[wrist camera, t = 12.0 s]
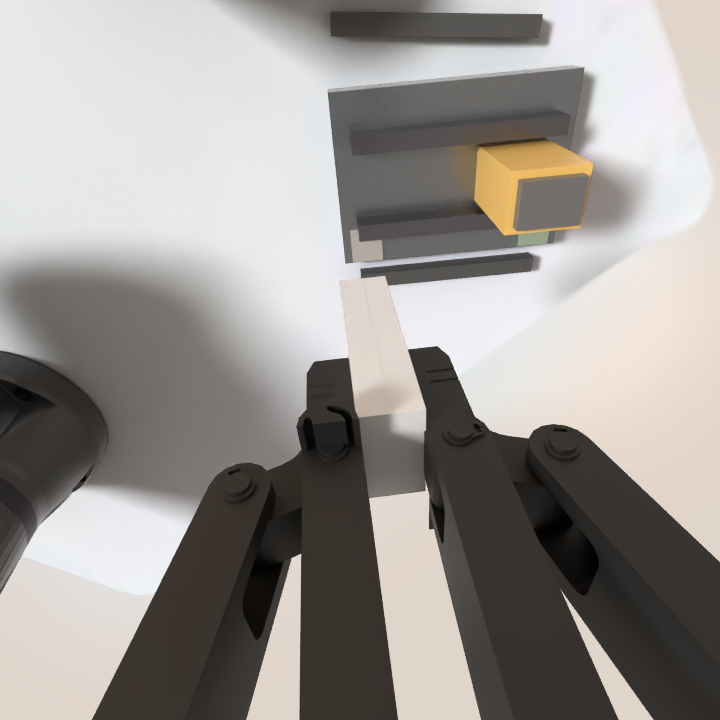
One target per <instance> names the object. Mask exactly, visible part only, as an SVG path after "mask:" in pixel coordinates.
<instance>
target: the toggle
mask: <svg viewBox="0 0 720 720" xmlns="http://www.w3.org/2000/svg"><path fill="white" fill-rule="evenodd" d="M593 165H594V163H592V162H590V161H588V160H586V159H585V158H583V157H581V156H579V155H577V154H575V153H573V152H571V151H569V150H567V149H565V148H563V147H561V146H559V145H558V144H556V143H554V142H552V141H550V140H548V139H546V138H545V139H535V140H524V141H514V142H504V143H494V144H484V145H478V152H477V167H476V182H475V197H474V200H475V202H476V203H477V204H478V205H479V206H480V207H481V209H482V210H483V211H484V212H485V213H486V215H487V216H488V217H489V218H490V219H491V220H492V222H493V223H494V224H495V225H496V226H497V228H498V229H499V230H500V231H501V232H502V233H503V235H513V234H523V233H534V232H544V231H554V230H564V229H574V228H580V227H581V222H582V217H583V212H584V208H585V203H586V198H587V193H588V189H589V184H590V179H591V174H592V170H593Z"/></svg>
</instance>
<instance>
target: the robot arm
mask: <svg viewBox="0 0 720 720" xmlns="http://www.w3.org/2000/svg"><path fill="white" fill-rule="evenodd" d="M340 288H341V296H342V305H343V314H344V323H345V331H346V340H347V349H348V357H349V358H342V359H333V360H325V361H316V362H314V363H313V364H312V366H311V368H310V369H309V371H308V373H307V410H306V411H305V412H304V413H303V414H302V415H301V416H300V417H299V420H298V423H297V431H298V435H299V440H300V445H301V449H302V450H301V451H300V452H299V454H298V455H297V456H296V457H294V458H293V459H292V460H290V461H289V462H287V463H285V464H283V465H280V466H278V467H275V468H273V469H270V470H268V471H267V470H265V469H264V468H263V467H262V466H260V465H256V464H252V463H243V464H237V465H234V466H232V467H229V468H226V469H225V470H224V471H222V472H221V473H220V474H218V475H217V476H216V477H215V478H214V480H213V481H212V482H211V484H210V485H209V487H208V489H207V491H206V493H205V495H204V497H203V499H202V501H201V503H200V505H199V507H198V509H197V511H196V513H195V515H194V517H193V519H192V521H191V523H190V525H189V527H188V529H187V531H186V533H185V535H184V537H183V539H182V541H181V543H180V545H179V547H178V549H177V551H176V553H175V555H174V557H173V559H172V561H171V563H170V565H169V567H168V569H167V571H166V573H165V575H164V577H163V579H162V581H161V583H160V585H159V587H158V589H157V591H156V593H155V595H154V597H153V599H152V601H151V603H150V605H149V607H148V609H147V611H146V613H145V615H144V617H143V619H142V621H141V623H140V625H139V627H138V629H137V631H136V633H135V635H134V637H133V639H132V641H131V643H130V645H129V647H128V649H127V651H126V653H125V655H124V657H123V659H122V661H121V663H120V665H119V667H118V669H117V671H116V673H115V675H114V677H113V679H112V681H111V683H110V685H109V687H108V689H107V691H106V693H105V695H104V697H103V699H102V701H101V703H100V705H99V707H98V709H97V711H96V713H95V715H94V717H93V719H92V720H246V718H247V715H248V711H249V707H250V704H251V701H252V697H253V694H254V690H255V686H256V683H257V679H258V676H259V672H260V669H261V665H262V661H263V658H264V655H265V651H266V647H267V644H268V640H269V637H270V633H271V630H272V626H273V623H274V619H275V615H276V612H277V608H278V605H279V601H280V598H281V594H282V590H283V587H284V583H285V580H286V577H287V573H288V569H289V566H290V562H291V558H292V557H295V556H297V555H299V554H301V633H300V634H301V635H300V637H301V638H300V639H301V640H300V720H398V716H397V708H396V701H395V693H394V686H393V678H392V670H391V663H390V656H389V648H388V640H387V633H386V625H385V618H384V610H383V602H382V594H381V587H380V580H379V571H378V564H377V557H376V549H375V542H374V533H373V526H372V518H371V511H370V503H369V498H373V497H381V496H389V495H397V494H404V493H413V492H420V491H425V480H426V484H427V488H428V491H429V495H430V497H429V529H434V530H435V535H436V538H437V542H438V546H439V550H440V555H441V558H442V563H443V567H444V571H445V575H446V579H447V583H448V587H449V591H450V595H451V599H452V603H453V607H454V611H455V615H456V620H457V624H458V627H459V632H460V636H461V640H462V644H463V648H464V652H465V656H466V660H467V664H468V668H469V672H470V676H471V680H472V684H473V689H474V692H475V697H476V700H477V705H478V709H479V713H480V717H481V720H618V718H617V715H616V713H615V711H614V709H613V706H612V704H611V702H610V700H609V697H608V695H607V693H606V691H605V688H604V686H603V684H602V682H601V679H600V677H599V675H598V673H597V671H596V668H595V666H594V664H593V661H592V659H591V657H590V655H589V652H588V650H587V648H586V646H585V643H584V641H583V639H582V637H581V634H580V632H579V630H578V628H577V625H576V623H575V621H574V619H573V616H572V614H571V612H570V610H569V607H568V606H567V603H566V601H565V599H564V596H563V594H562V592H563V593H564V595H565V596H566V597H567V599H568V600H569V602H570V603H571V604H572V606H573V607H574V609H575V610H576V611H577V613H578V614H579V616H580V617H581V618H582V620H583V621H584V623H585V624H586V625H587V627H588V628H589V630H590V631H591V632H592V634H593V635H594V637H595V638H596V639H597V641H598V642H599V644H600V645H601V646H602V648H603V649H604V651H605V652H606V653H607V655H608V656H609V658H610V659H611V661H612V662H613V663H614V665H615V666H616V668H617V669H618V670H619V672H620V673H621V675H622V676H623V677H624V679H625V680H626V681H627V683H628V684H629V686H630V687H631V689H632V690H633V691H634V693H635V694H636V696H637V697H638V698H639V700H640V701H641V702H642V704H643V705H644V707H645V708H646V710H647V711H648V712H649V714H650V715H651V717H652V718H653V719H654V720H720V562H719V561H718V560H717V559H716V558H715V557H714V556H713V555H712V554H711V553H710V552H708V551H707V550H706V549H705V548H704V547H703V546H702V545H701V544H700V543H699V542H698V541H697V540H696V539H694V537H693V536H692V535H690V534H689V533H688V532H687V531H686V530H685V529H684V528H683V527H682V526H681V525H680V524H679V523H678V522H677V521H676V520H675V519H674V518H673V517H672V516H670V515H669V514H668V513H667V512H666V511H665V510H664V509H663V508H662V507H661V506H660V505H659V504H658V503H657V502H656V501H655V500H654V499H653V498H651V497H650V496H649V495H648V494H647V493H646V492H645V491H644V490H643V489H642V488H641V487H640V486H639V485H638V484H637V483H636V482H634V481H633V480H632V479H631V478H630V477H629V476H628V475H627V474H626V473H625V472H624V471H623V470H622V469H621V468H620V467H619V466H618V465H617V464H616V463H614V461H612V460H611V459H610V458H609V457H608V456H607V455H606V454H605V453H604V452H603V451H602V450H601V449H600V448H599V447H598V446H597V445H596V444H595V443H593V442H592V441H591V440H590V439H589V438H588V437H587V436H585V435H584V434H583V433H581V432H579V431H578V430H576V429H573V428H571V427H568V426H563V425H556V424H552V425H545V426H541V427H539V428H538V429H536V430H534V431H533V433H532V434H531V436H530V437H529V439H527V438H520V437H512V436H506V435H500V434H498V433H495V432H492V431H490V430H489V429H488V428H487V426H486V425H485V424H484V423H483V422H482V421H480V420H479V419H477V418H476V417H475V416H474V414H473V412H472V409H471V407H470V405H469V403H468V400H467V398H466V396H465V393H464V391H463V388H462V386H461V384H460V381H459V380H458V377H457V374H456V372H455V370H454V367H453V365H452V363H451V360H450V358H449V356H448V355H447V354H446V353H445V352H443V351H442V350H441V349H440V348H439V347H437V346H435V347H426V348H418V349H409V350H408V349H407V346H406V342H405V339H404V336H403V333H402V329H401V326H400V323H399V320H398V316H397V313H396V310H395V307H394V303H393V300H392V297H391V294H390V290H389V287H388V284H387V281H386V277H385V276H379V277H370V278H361V279H352V280H343V281H340ZM107 439H108V437H107V429H106V425H105V422H104V420H103V418H102V416H101V414H100V412H99V410H98V409H97V407H96V406H95V405H94V403H93V402H92V401H91V400H90V399H89V398H88V397H87V396H86V395H85V394H84V393H83V392H82V391H81V390H80V389H79V388H78V387H77V386H75V385H74V384H73V383H71V382H70V381H69V380H67V379H66V378H64V377H63V376H61V375H59V374H58V373H56V372H54V371H52V370H50V369H48V368H46V367H44V366H42V365H40V364H38V363H35V362H33V361H30V360H27V359H25V358H21V357H18V356H15V355H11V354H7V353H2V352H0V594H1V592H2V590H3V589H4V587H5V585H6V583H7V581H8V580H9V578H10V576H11V574H12V572H13V570H14V569H15V567H16V565H17V563H18V561H19V560H20V558H21V556H22V554H23V552H24V550H25V548H26V547H27V545H28V543H29V541H30V540H31V538H32V536H33V534H34V533H35V531H36V529H37V528H38V526H39V525H40V524H41V523H42V522H43V521H44V520H45V519H46V518H47V517H49V516H50V515H51V514H52V513H53V512H54V511H55V510H56V509H57V508H58V507H59V506H60V505H61V504H62V503H63V502H64V501H65V500H66V499H67V498H68V497H69V496H70V495H71V493H72V492H74V491H76V490H77V489H79V488H80V487H81V486H82V485H83V484H85V483H86V482H87V481H88V480H89V478H90V477H91V476H92V474H93V473H94V471H95V470H96V468H97V466H98V464H99V462H100V460H101V458H102V456H103V454H104V452H105V450H106V447H107ZM560 589H561V590H562V592H561V590H560Z"/></svg>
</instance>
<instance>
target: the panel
mask: <svg viewBox="0 0 720 720" xmlns="http://www.w3.org/2000/svg"><path fill="white" fill-rule="evenodd" d="M583 72H584V67H578V66H563V67H553V68H542V69H532V70H522V71H512V72H501V73H491V74H481V75H471V76H460V77H450V78H440V79H430V80H419V81H409V82H399V83H389V84H378V85H368V86H358V87H348V88H337V89H328V99H329V108H330V118H331V128H332V137H333V147H334V156H335V166H336V176H337V185H338V195H339V204H340V214H341V224H342V233H343V243H344V253H345V262H346V263H355V262H365V261H375V260H386V259H396V258H406V257H416V256H426V255H436V254H446V253H457V252H467V251H477V250H487V249H497V248H507V247H517V246H527V245H538V244H548V243H553V241H554V235H555V230H554V231H544V232H534V233H523V234H513V235H503V233H502V232H501V231H500V230H499V229H498V228H497V226H496V225H495V224H494V223H493V222H492V220H491V219H490V218H489V217H488V216H487V215H486V213H485V212H484V211H483V210H482V209H481V207H480V206H479V205H478V204H477V203H476V202H475V200H474V197H475V182H476V167H477V152H478V145H484V144H494V143H504V142H514V141H524V140H535V139H545V138H546V139H548V140H550V141H552V142H554V143H556V144H558V145H559V146H561V147H563V148H565V149H567V150H569V151H570V145H571V140H572V134H573V128H574V123H575V117H576V112H577V106H578V100H579V95H580V89H581V84H582V78H583Z"/></svg>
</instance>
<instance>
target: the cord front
mask: <svg viewBox="0 0 720 720" xmlns="http://www.w3.org/2000/svg"><path fill="white" fill-rule="evenodd" d="M542 16H543V14H475V13H396V12H331V36H402V37H504V38H538V36H539V31H540V26H541V21H542Z"/></svg>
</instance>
